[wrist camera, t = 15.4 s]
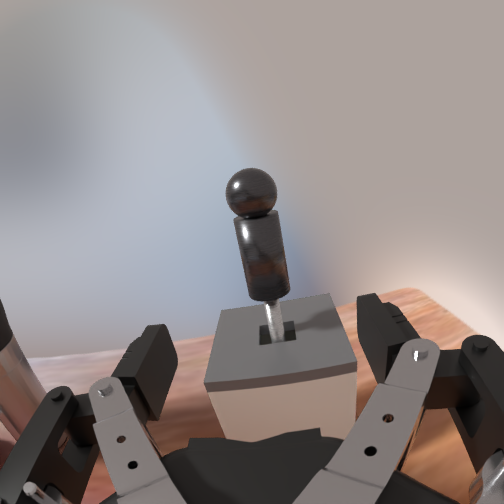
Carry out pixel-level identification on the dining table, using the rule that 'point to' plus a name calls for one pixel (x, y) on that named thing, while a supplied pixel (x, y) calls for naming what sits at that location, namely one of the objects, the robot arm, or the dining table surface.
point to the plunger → (260, 242)
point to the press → (283, 372)
